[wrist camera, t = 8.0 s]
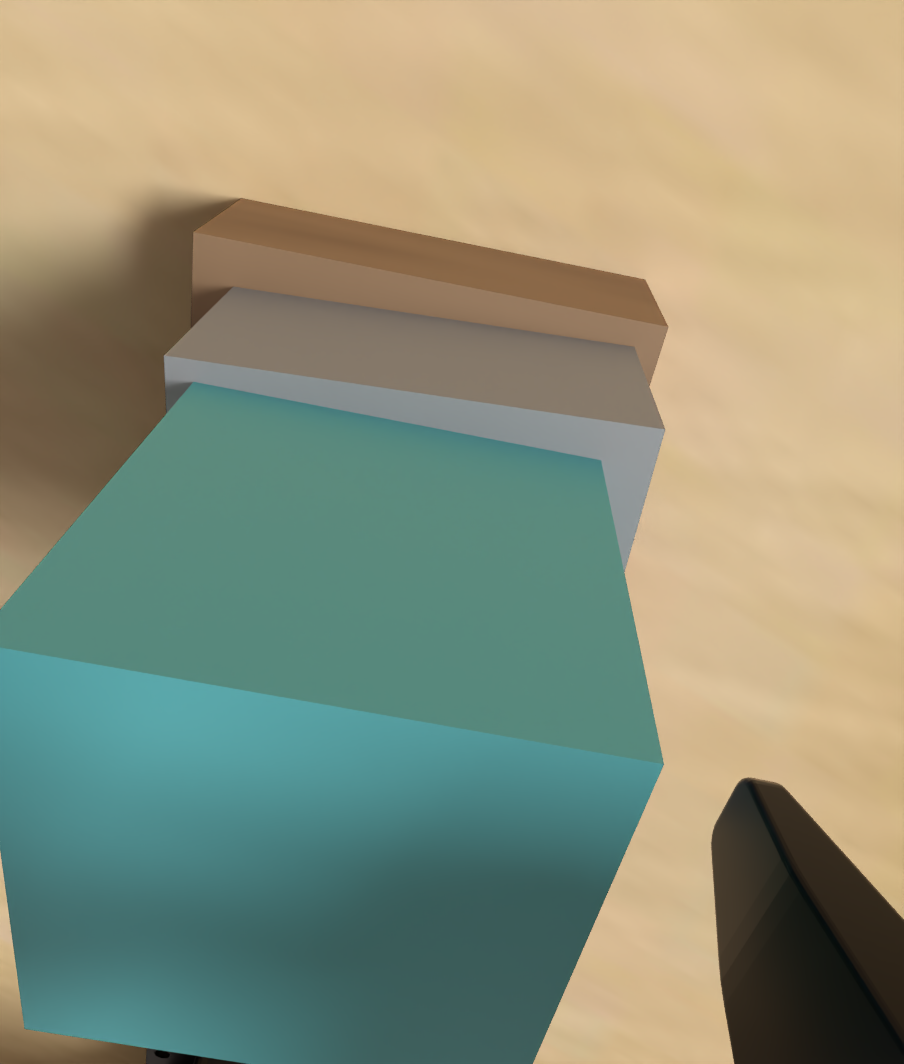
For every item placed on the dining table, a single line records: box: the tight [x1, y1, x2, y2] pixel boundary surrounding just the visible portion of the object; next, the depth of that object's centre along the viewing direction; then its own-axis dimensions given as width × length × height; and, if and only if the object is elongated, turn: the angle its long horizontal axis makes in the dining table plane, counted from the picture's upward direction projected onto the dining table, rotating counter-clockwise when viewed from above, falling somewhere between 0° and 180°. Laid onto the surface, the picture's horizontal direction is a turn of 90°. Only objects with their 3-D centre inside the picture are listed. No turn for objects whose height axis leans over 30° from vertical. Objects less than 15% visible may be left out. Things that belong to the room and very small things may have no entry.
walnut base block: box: [191, 198, 668, 386], centre depth 16 cm, size 7×7×3 cm
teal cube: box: [0, 382, 664, 1064], centre depth 10 cm, size 5×5×5 cm
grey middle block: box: [164, 287, 665, 572], centre depth 13 cm, size 6×6×3 cm
